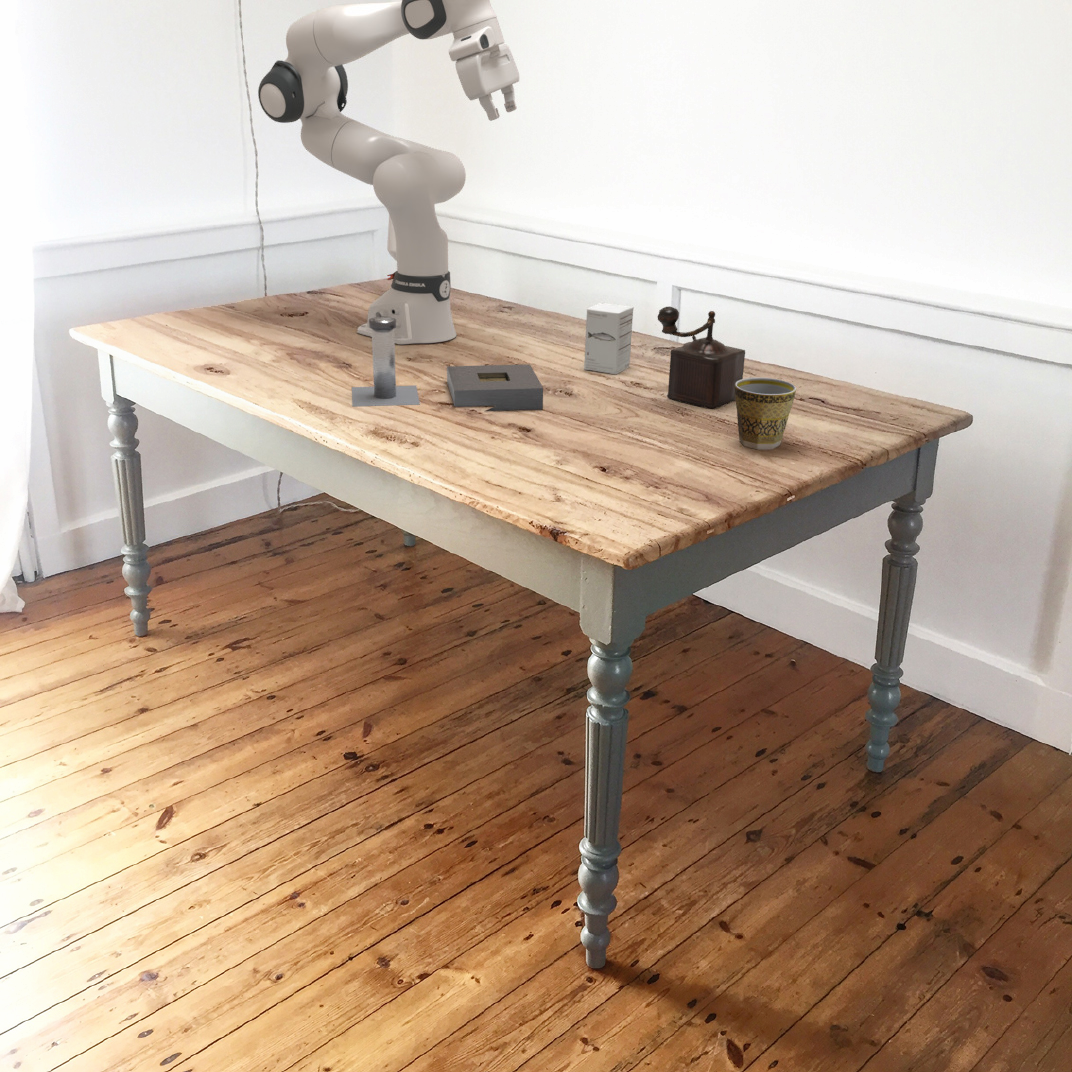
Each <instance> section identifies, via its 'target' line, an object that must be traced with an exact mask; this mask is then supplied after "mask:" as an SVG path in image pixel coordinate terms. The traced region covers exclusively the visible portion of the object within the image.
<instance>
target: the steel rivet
mask: <svg viewBox="0 0 1072 1072" xmlns="http://www.w3.org/2000/svg"><path fill="white" fill-rule="evenodd" d="M369 327H370V328H371V329H372V337H371V345H372V348H371V349H372V351H371V353H372V371H373V372H372V374H373V375H372V376H373V387H374V396H375V397H376V398H380V399H390V398H394V397H396V386H397V377H396V352H395V351H396V349H395V348H396V347H395V346H396V345H395V344H396V343H395V342H394V328H396V319H395V318H391V317H375V318H371V319H369Z"/></svg>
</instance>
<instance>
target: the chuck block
mask: <svg viewBox="0 0 1072 1072" xmlns="http://www.w3.org/2000/svg"><path fill="white" fill-rule="evenodd" d="M488 378H506V381H484V382H480V380H479V379H488ZM446 384H447V386H448V390H449V392H450V396H451V399H452V402H453V407H454V408H465V407H468V408H470V407H471V408H472V407H491V408H488V409H485V412H504V411H505V412H507V411H508V412H509V411H533V410H534V411H536V410H537V411H541V410H543V409H544V387H543V385H542V384H541V382H540V379H539V378H538V376H537V373H535V370H534V369H533V366H532V365H531V364H530V363H529V364H528V363H526V364H493V365H492V364H490V365H487V364H484V365H483V364H482V365H449V366H448V365H447V366H446Z"/></svg>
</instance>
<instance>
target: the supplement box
mask: <svg viewBox="0 0 1072 1072" xmlns="http://www.w3.org/2000/svg"><path fill="white" fill-rule="evenodd" d="M633 318H634V306H629V305H622V304H615V303H608V302H599V303H596V304H594V305H592V306H590V307H588V308H587V309H586V321H585V342H584V345H585V346H584V363H583V364H584V365H583V369H584V371H592V372H593V371H595V372H600V373H606V374H611V375H614V376H615V375H618V374H620V373H621V372H623V371H625V370H627V369H628V368H630V363H631V351H632V350H631V349H632V347H631V346H632V333H633V320H634V319H633Z"/></svg>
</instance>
